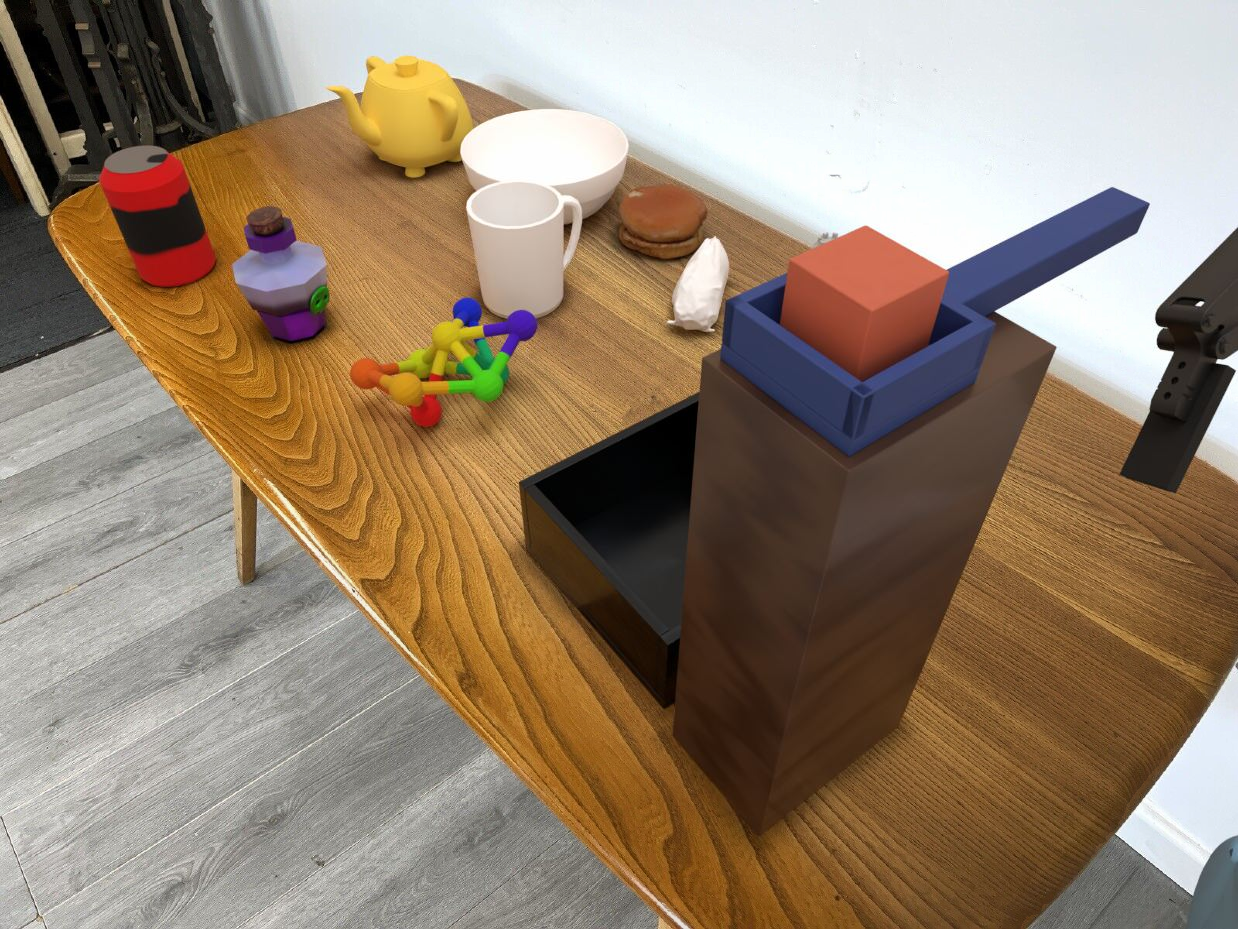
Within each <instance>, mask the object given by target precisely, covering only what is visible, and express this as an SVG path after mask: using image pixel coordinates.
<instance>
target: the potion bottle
mask: <svg viewBox="0 0 1238 929" xmlns="http://www.w3.org/2000/svg"><path fill="white" fill-rule="evenodd" d="M245 219H246V221H247V224H246V225H245V226H243V233H244V237H245V241H246V243H247V246H248V249H249V250H248V251H247V252H246V253H245V254H243V255H242V256H241V257H239V258H238V259H237V260H236V261H234V262H233V263H232V264H231V268H232V271H233V277H234V281H235V285H236V286H237V288H238V289H239V291H240V292H241V294H242V295H243V297H244V298H245V300H246V302H247V303H248V305H249V306H250V308H251V309H252V311H256V312H257V313H258V315H259V317H260V318H261V319H262V321H263V323H264V324H265V326H266V328H267V329H268V331H269V334H270V337H271V340H275V341H277V342H281V343H285V344H289V345H293V344H298V343H302V342H306V341H310V340H311V341H312V340H315V339H316V338H317V337H318V336H319V335H320V334H321V333H322V332H323V331H324V330H325V329H326V328H328V324H327V323H328V322H327V320H326V309H327V306H328V304H329V303H330V296H331V294H330V289H329V287H328V263H327V260H326V258H325V254H324V251H323V248H322V246H320V245H316V244H312V243H309V242H303V241H300V240H298V239H297V236H296V233H295V232H296V231H295V228H294V225H293V221H292V218H290V217H285V216H283V213H282V209H281V208H280V207H279V206H273V205H267V206H266V205H264V206H261V207H258V208H255V209H254V210H252V211H251V212H250V213H248V214H247V216H246V218H245Z"/></svg>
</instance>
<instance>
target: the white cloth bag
mask: <svg viewBox="0 0 1238 929" xmlns="http://www.w3.org/2000/svg"><path fill="white" fill-rule="evenodd" d="M729 261H730V260H729V257H728V254H727V252H726V249H725V248H724V246H723V244H722V242H721V241H720V239H719V238H717V236H716V235H714V237H712V238H708V237H707V238H705V239H704V240H703V241H702V243H701V244H700V246H699V247H698V248H697V249H696V250H695V252H694V254H693V255H692V256H691V257H690V258H689V260H688V262H687V263H686V265H685V268H684V269H683V271H682V273H681V275H680V277H679V279H678V280H677V283H676V285H675V287H674V289H673V291H672V296H671V304H672V306H673V316H674V320H672V319H671V320H670V319H669V320H667V321H666V323H667V324H668V325H672V326H676V327H681V328H683V329H685V330H686V331H692V330H694V331H695V330H697V331H700V332H704V333H713V332H715V331H716V330H715V329H714V328H712V327H713V325H714V324H716V322H717V321H718V318H719V314H720V310H721V306H722V303H723V297H724V293H725V288H726V285H727V282H728V278H729V273H730V262H729Z"/></svg>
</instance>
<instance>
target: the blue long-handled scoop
mask: <svg viewBox="0 0 1238 929" xmlns="http://www.w3.org/2000/svg"><path fill="white" fill-rule="evenodd" d="M1150 205H1151V203H1150V202H1148V201H1146V200H1144V199H1142V198H1139V197H1137V196H1135V195H1132V194H1130V193H1129V192H1126V191H1124V190H1122V189H1119V188H1117V187H1114V186H1110V187H1109V188H1107V189H1104V190H1102V191H1101V192H1099V193H1097V194H1095V195H1092V196H1091V197H1088V198H1086V199H1085V200H1082V201H1081V202H1078V203H1077V204H1075V205H1073V206H1071V207H1069V208H1067V209H1064V210H1063V211H1060V212H1059V213H1057V214H1054V215H1052V216H1051V217H1049V218H1046V219H1045V220H1042V221H1041V222H1039V223H1036V224H1035V225H1033V226H1031V227H1029V228H1027V229H1025V230H1023V231H1020V232H1019V233H1017V234H1015V235H1012V236H1011V237H1009V238H1007V239H1005V240H1003V241H1000V242H999V243H997V244H995V245H993V246H991V247H988V248H986V249H985V250H983V251H981V252H979V253H977V254H975V255H973V256H970V257H969V258H966V259H964V260H962V261H961V262H959V263H957V264H955V265H953V266H951V267H949V268H947V269H946V270H947V271H949V276H948V279H947V283H946V286H945V289H944V293H943V296H942V300H941V303H940V306H939V310H938V313H937V317H936V320H935V323H934V327H933V330H932V334H931V337H930V341H929V344H928V347H926V348H924V349H922V350H920V351H919V352H917V353H915V354H913V355H911V356H909V357H908V358H906V359H904V360H902V361H900V362H898V363H897V364H895V365H893V366H891V367H889V368H888V369H886V370H884V371H882V372H880V373H878V374H877V375H875V376H873V377H871V378H869V379H867V380H866V381H864V382H861V381H860V380H858V379H857V378H855V377H854V376H852V375H851V374H850V373H848V372H847V371H845V370H844V369H842V368H841V367H839V366H838V365H837V364H835V363H834V362H832V361H831V360H829V359H828V358H826V357H825V356H824V355H822V354H821V353H819V352H818V351H816V350H815V349H813V348H812V347H811V346H809V345H808V344H806V343H805V342H803V341H802V340H800V339H799V338H798V337H796V336H795V335H793V334H792V333H790V332H789V331H787V330H786V329H785V328H783V327H782V326H780V320H781V313H782V306H783V300H784V293H785V286H786V279H787V273H788V271H787V272H786V273H783V274H781V275H779V276H776V277H774V278H772V279H770V280H768V281H766V282H763V283H761V284H758V285H757V286H755V287H752V288H750V289H748V290H745V291H744V292H743V291H742V292H741V293H739V294H737V295H734V296H732V297H730V298H728V299H726V300H725V303H724V313H723V314H724V315H723V325H722V333H721V334H722V335H721V344H720V345H721V346H720V349H721V354H720V358H721V360H723V361H724V362H725V363H727V364H728V365H729V366H731V367H732V368H733V369H735V370H736V371H737V372H738V373H740V374H741V375H742V376H744V377H745V378H746V379H748V380H749V381H750V382H752V383H753V384H754V385H756V386H757V387H758V388H759V389H761V390H762V391H763V392H765V393H766V394H767V395H769V396H770V397H771V398H773V399H774V400H775V401H776V402H778V403H779V404H780V405H782V406H783V407H784V408H786V409H787V410H788V411H790V412H791V413H792V414H793V415H795V416H796V417H797V418H799V419H800V420H801V421H803V422H804V423H805V424H807V425H808V426H809V427H811V428H812V429H813V430H814V431H816V432H817V433H818V434H820V435H821V436H822V437H824V438H825V439H826V440H828V441H829V442H830V443H831V444H833V445H834V446H835V447H837V448H838V449H839V450H841V451H842V452H843V453H845V454H846V455H847V456H851V455H853V454H855V453H856V452H858V451H860V450H861V449H863V448H865V447H866V446H868V445H870V444H871V443H873V442H875V441H877V440H878V439H880V438H882V437H883V436H885V435H887V434H888V433H890V432H892V431H893V430H895V429H897V428H899V427H900V426H902V425H904V424H905V423H907V422H909V421H910V420H912V419H914V418H915V417H917V416H919V415H921V414H922V413H924V412H926V411H927V410H929V409H931V408H932V407H934V406H936V405H937V404H939V403H941V402H943V401H944V400H946V399H948V398H949V397H951V396H953V395H954V394H956V393H958V392H959V391H961V390H963V389H964V388H966V387H968V386H970V385H971V384H973V383H975V381H976V379H977V376H978V373H979V370H980V366H981V365H982V362H983V359H984V356H985V354H986V351H987V348H988V345H989V342H990V339H991V337H992V334H993V331H994V328H995V325H996V323H994V322H993V321H991V320H989V319H987V318H986V317H985V316H987V315H989V314H991V313H992V312H994V311H995V312H997V311H998V310H999V309H1002V308H1003V307H1006V306H1007V305H1009V304H1011V303H1012V302H1015V301H1016V300H1018V299H1020V298H1021V297H1024V296H1025V295H1027V294H1029V293H1031V292H1033V291H1034V290H1037V289H1038V288H1040V287H1042V286H1043V285H1045V284H1047V283H1049V282H1051V281H1053V280H1055V279H1056V278H1058V277H1060V276H1062V275H1063V274H1064V275H1065V273H1068V272H1069V271H1071V270H1073V269H1074V268H1077V267H1078V266H1080V265H1082V264H1084V263H1086V262H1087V261H1090V260H1091V259H1093V258H1095V257H1096V256H1098V255H1100V254H1102V253H1104V252H1106V251H1107V250H1109V249H1112V248H1113V247H1115V246H1117V245H1118V244H1121V243H1122V242H1124V241H1126V240H1127V239H1129V238H1131V237H1133V236H1135V235H1137V234H1138V233H1139V230H1140V228H1141V225H1142V223H1143V221H1144V219H1145V216H1146V214H1147V212H1148V210H1149V208H1150Z"/></svg>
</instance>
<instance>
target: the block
mask: <svg viewBox="0 0 1238 929" xmlns="http://www.w3.org/2000/svg"><path fill="white" fill-rule="evenodd" d="M787 272H788V273H787ZM787 272H786V273H787V279H786V286H785V293H784V300H783V306H782V313H781V320H780V326H782V327H783V328H785V329H786V330H787V331H789V332H790V333H792V334H793V335H795V336H796V337H798V338H799V339H800V340H802V341H803V342H805V343H806V344H808V345H809V346H811V347H812V348H813V349H815V350H816V351H818V352H819V353H821V354H822V355H824V356H825V357H826V358H828V359H829V360H831V361H832V362H834V363H835V364H837V365H838V366H839V367H841V368H842V369H844V370H845V371H847V372H848V373H850V374H851V375H852V376H854V377H855V378H857V379H858V380H860V381H861V382H864V381H866V380H867V379H869V378H871V377H873V376H875V375H877V374H878V373H880V372H882V371H884V370H886V369H888V368H889V367H891V366H893V365H895V364H897V363H898V362H900V361H902V360H904V359H906V358H908V357H909V356H911V355H913V354H915V353H917V352H919V351H920V350H922V349H924V348H926V347H928V344H929V341H930V337H931V334H932V330H933V327H934V323H935V320H936V317H937V313H938V310H939V306H940V303H941V300H942V296H943V293H944V289H945V286H946V283H947V279H948V276H949V271H947V269H945V268H944V267H942V266H940V265H938V264H937V263H935V262H933V261H932V260H929V259H928V258H926V257H924V256H923V255H920V254H919V253H917V252H915V251H913V250H911V249H910V248H908V247H906V246H904V245H903V244H901V243H899V242H897V241H895V240H894V239H892V238H890V237H888V236H887V235H885V234H883V233H881V232H879V231H877V230H876V229H874V228H872V227H871V226H868V225H862V226H861V227H858V228H856V229H854V230H852V231H850V232H847V233H845V234H843V235H840V236H838V237H837V238H836V239H833V240H831V241H829V242H827V243H824V244H822V245H820V246H818V247H815V248H813V247H812V248H811V249H809V250H807V251H804V252H802V253H800V254H797V255H795V256H793V257H791V258H790V259H789V261H788V266H787Z"/></svg>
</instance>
